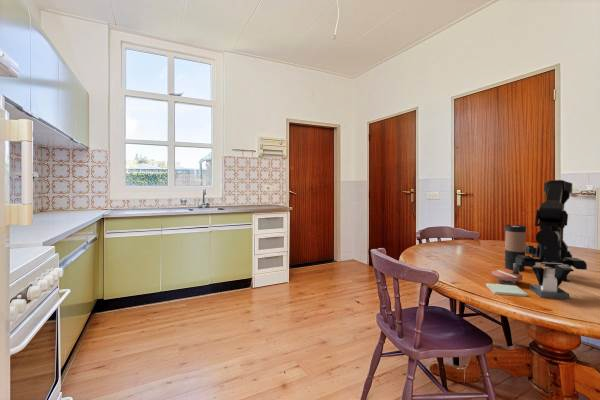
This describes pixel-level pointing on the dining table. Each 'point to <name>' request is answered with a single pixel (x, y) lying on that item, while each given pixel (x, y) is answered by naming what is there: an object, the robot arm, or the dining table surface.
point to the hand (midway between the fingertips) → (548, 285)
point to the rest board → (506, 289)
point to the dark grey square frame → (549, 292)
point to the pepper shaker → (549, 280)
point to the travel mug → (514, 245)
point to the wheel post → (506, 282)
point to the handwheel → (508, 274)
